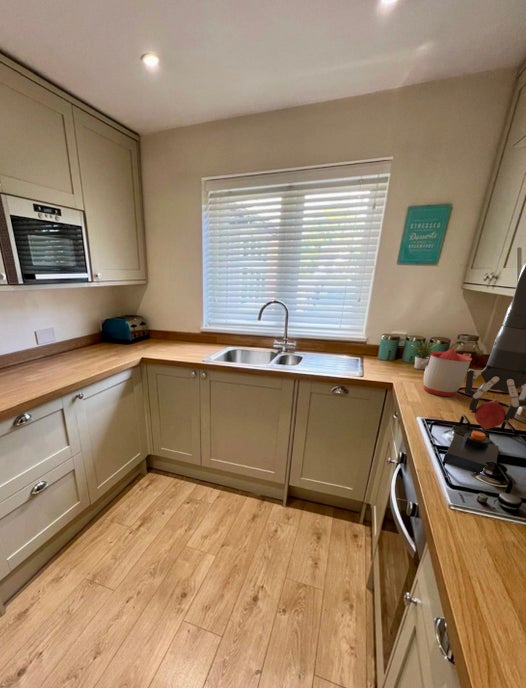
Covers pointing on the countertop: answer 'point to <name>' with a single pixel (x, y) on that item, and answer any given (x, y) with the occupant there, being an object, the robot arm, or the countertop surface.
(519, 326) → the robot arm
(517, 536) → the countertop surface
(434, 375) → the citrus juicer
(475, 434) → the button
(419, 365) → the house plant
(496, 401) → the onion
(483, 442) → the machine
